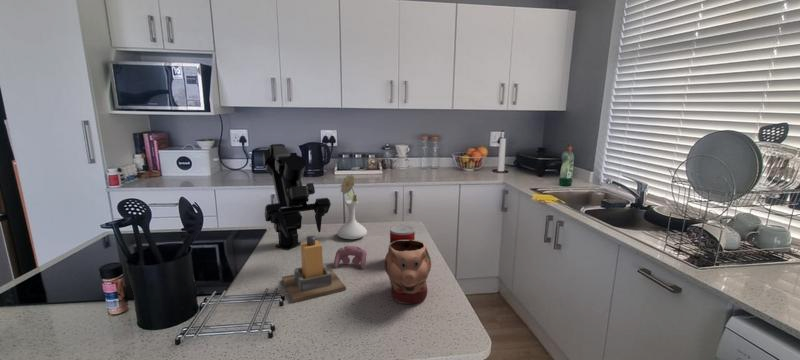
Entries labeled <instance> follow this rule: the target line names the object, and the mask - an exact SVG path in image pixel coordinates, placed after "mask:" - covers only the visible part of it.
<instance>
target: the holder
mask: <svg viewBox="0 0 800 360" xmlns="http://www.w3.org/2000/svg"><path fill="white" fill-rule="evenodd" d="M293 272H294V273H293V274H290V275H285V276H281V278H282V279H281V280H282V283H283V285H284V287H285V288H286V290H287V293H288V295H289V298H290V300H291V301H292V304H294V303H299V302H303V301H308V300H312V299H315V298H319V297H325V296H328V295H332V294H335V293H340V292H344V291H346V290H347V289H346V288H347V287H346V285H345V284H344V282H342V280H341V279H340V278H339V277H338V275H337V274H336V273H335V272H334V270H333V269H332V267H330V266H328V267H327V265H326V264H325V263H323V275H320V276H316V277H311V278H307V279H303V277H302V266H301V267H296V268H295V269H294V270H293Z"/></svg>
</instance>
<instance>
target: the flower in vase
mask: <svg viewBox="0 0 800 360" xmlns="http://www.w3.org/2000/svg"><path fill="white" fill-rule="evenodd" d="M355 183H356V177H355V174H353V173H351V174H350V173H348V175H346V176H345V177H344V178H343V180H342V184H340V193H342V195H347V197H348V198H349V199H350V200H348V199H347V200H346V201H344V203H345V205H346V207H347V211H348V220H347V222H345V223H344V224H343V225H342V226H340V228H339V229H338V230H337V232H336V235H338V237H339V238H342V239H345V240H357V239H361V238H364V237H365V236H366V235H367V233H368V231H367V228H365V226H364V225H362V224H361V223H359V222H358V221H357V220H356V206H357V205H358V203H359V200H357V194H355V190H354V189H353V187H354V186H355ZM351 191H352V192H353V195H352V194H351V193H350V192H351Z"/></svg>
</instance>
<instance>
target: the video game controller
mask: <svg viewBox="0 0 800 360" xmlns="http://www.w3.org/2000/svg"><path fill="white" fill-rule="evenodd" d="M349 256H351V257H352V256H353V258H352V259H351V258H350V257H349ZM340 262H342V263H343V265H348V264H350V262H352V264H353V265H356V266H357V265H359V264H360V269H362V270H363V269H364V268H365V266H366V262H367V251H366V250H365V249H363V248H362V247H359V246H355V245H346V246H341V247H339V249H337V251H336V253H335V256H334V261H333V267H334V268H335V269H336V268H338V267H339V265H340Z"/></svg>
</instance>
